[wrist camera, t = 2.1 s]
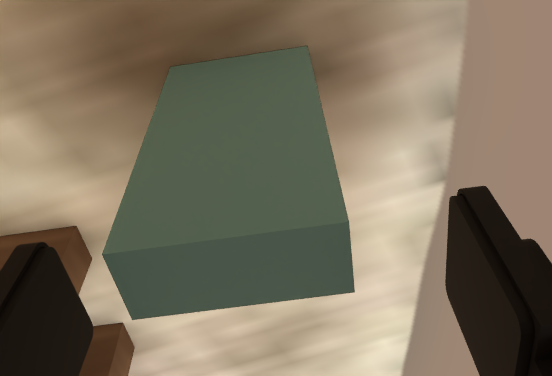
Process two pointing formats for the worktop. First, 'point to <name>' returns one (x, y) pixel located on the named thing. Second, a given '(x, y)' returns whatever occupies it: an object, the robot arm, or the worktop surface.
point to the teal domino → (232, 193)
